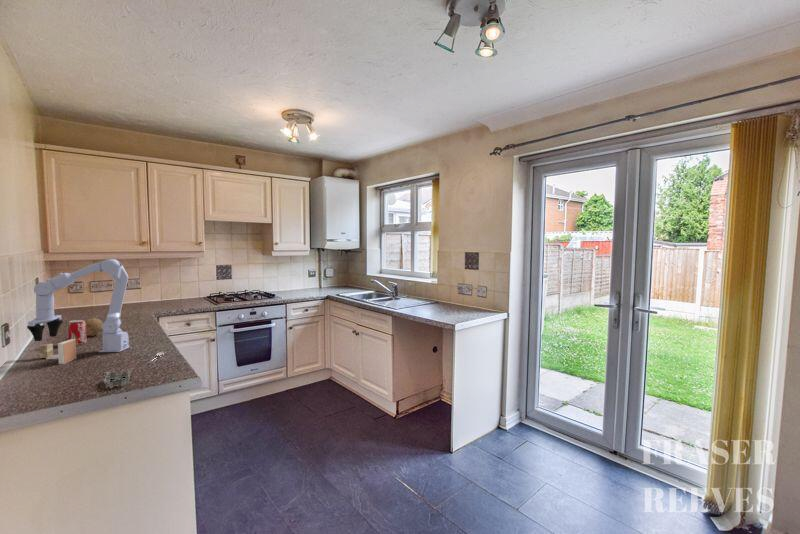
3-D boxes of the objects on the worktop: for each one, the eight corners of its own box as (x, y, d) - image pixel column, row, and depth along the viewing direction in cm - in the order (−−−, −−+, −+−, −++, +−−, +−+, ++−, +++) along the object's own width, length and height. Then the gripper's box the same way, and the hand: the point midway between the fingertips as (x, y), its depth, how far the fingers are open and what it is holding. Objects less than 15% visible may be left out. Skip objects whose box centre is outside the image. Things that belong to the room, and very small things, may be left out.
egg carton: (107, 381, 134) (106, 370, 134) (131, 377, 138) (131, 366, 138) (102, 390, 125) (102, 379, 125) (129, 386, 130) (129, 375, 129)
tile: (76, 358, 158) (75, 338, 157) (63, 364, 151) (62, 343, 150) (71, 358, 158) (71, 339, 157) (58, 364, 151) (57, 343, 150)
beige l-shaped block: (72, 355, 162) (71, 342, 162) (63, 359, 157) (62, 345, 157) (47, 355, 161) (47, 343, 161) (37, 359, 156) (37, 346, 156)
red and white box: (75, 346, 176) (74, 322, 175) (64, 345, 177) (63, 321, 177) (90, 342, 183) (89, 319, 182) (79, 341, 184) (78, 318, 183)
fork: (137, 372, 145) (137, 367, 145) (157, 356, 164) (156, 352, 164) (146, 371, 146) (146, 367, 146) (165, 355, 165) (164, 351, 165)
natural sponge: (105, 333, 202) (105, 315, 201) (103, 336, 194) (103, 318, 194) (84, 335, 197) (84, 317, 196) (82, 338, 189) (81, 320, 189)
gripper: (49, 305, 164) (49, 334, 165) (19, 311, 150) (20, 342, 151) (66, 306, 165) (66, 334, 166) (38, 311, 151) (38, 342, 151)
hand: (45, 338), depth 158 cm, fingers open, 7 cm apart
